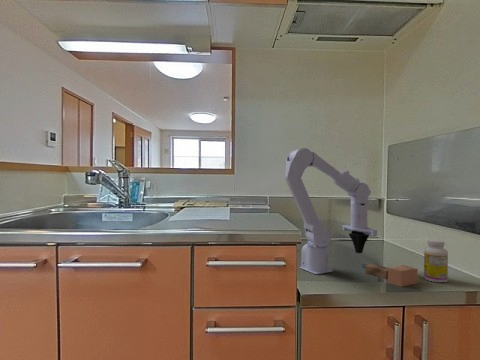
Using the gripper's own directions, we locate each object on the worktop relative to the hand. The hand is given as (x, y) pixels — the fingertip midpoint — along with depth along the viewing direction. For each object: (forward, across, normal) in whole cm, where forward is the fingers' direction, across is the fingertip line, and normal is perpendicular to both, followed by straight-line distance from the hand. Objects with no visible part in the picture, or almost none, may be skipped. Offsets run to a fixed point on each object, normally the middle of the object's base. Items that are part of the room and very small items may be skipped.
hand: (359, 252), depth 121 cm
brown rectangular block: (+6, -9, 0) cm, 11 cm away
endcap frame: (+6, -10, 0) cm, 12 cm away
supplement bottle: (+6, -21, -12) cm, 25 cm away
